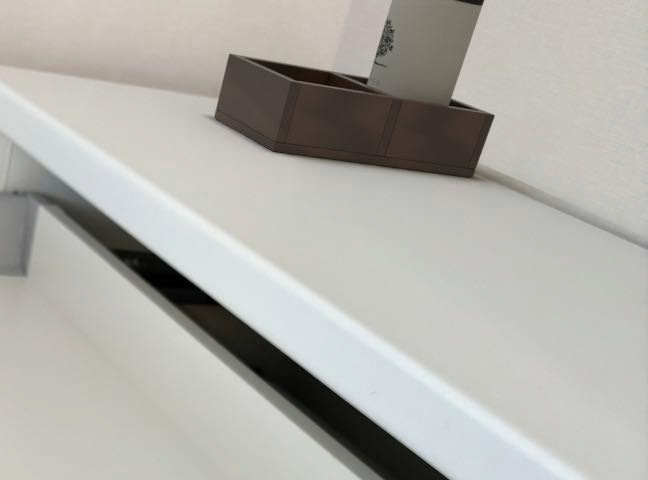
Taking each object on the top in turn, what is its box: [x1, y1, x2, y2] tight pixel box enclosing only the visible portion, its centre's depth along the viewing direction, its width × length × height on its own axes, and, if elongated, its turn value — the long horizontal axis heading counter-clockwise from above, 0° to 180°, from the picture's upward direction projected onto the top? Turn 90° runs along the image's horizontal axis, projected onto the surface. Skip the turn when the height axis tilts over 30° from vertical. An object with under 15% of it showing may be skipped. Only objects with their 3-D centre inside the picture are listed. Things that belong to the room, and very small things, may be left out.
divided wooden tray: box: [213, 53, 496, 179], centre depth 103 cm, size 23×12×6 cm, turn 112°
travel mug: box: [367, 0, 485, 106], centre depth 102 cm, size 8×8×18 cm
